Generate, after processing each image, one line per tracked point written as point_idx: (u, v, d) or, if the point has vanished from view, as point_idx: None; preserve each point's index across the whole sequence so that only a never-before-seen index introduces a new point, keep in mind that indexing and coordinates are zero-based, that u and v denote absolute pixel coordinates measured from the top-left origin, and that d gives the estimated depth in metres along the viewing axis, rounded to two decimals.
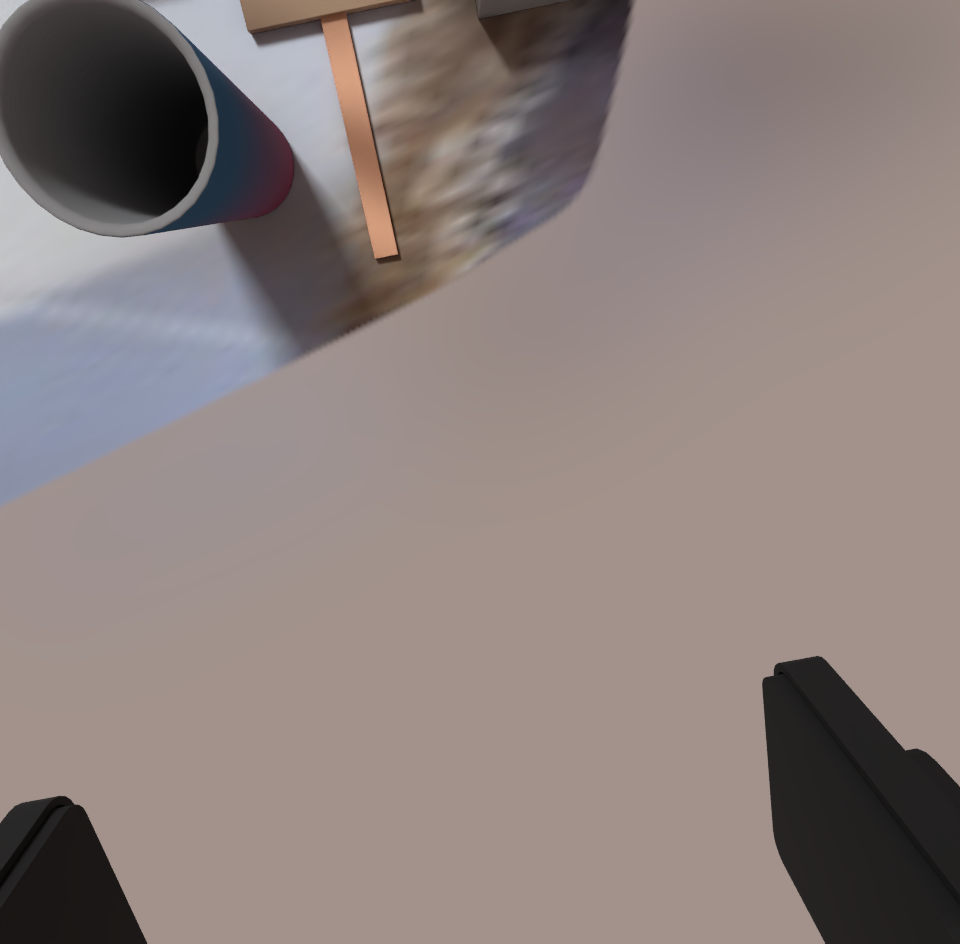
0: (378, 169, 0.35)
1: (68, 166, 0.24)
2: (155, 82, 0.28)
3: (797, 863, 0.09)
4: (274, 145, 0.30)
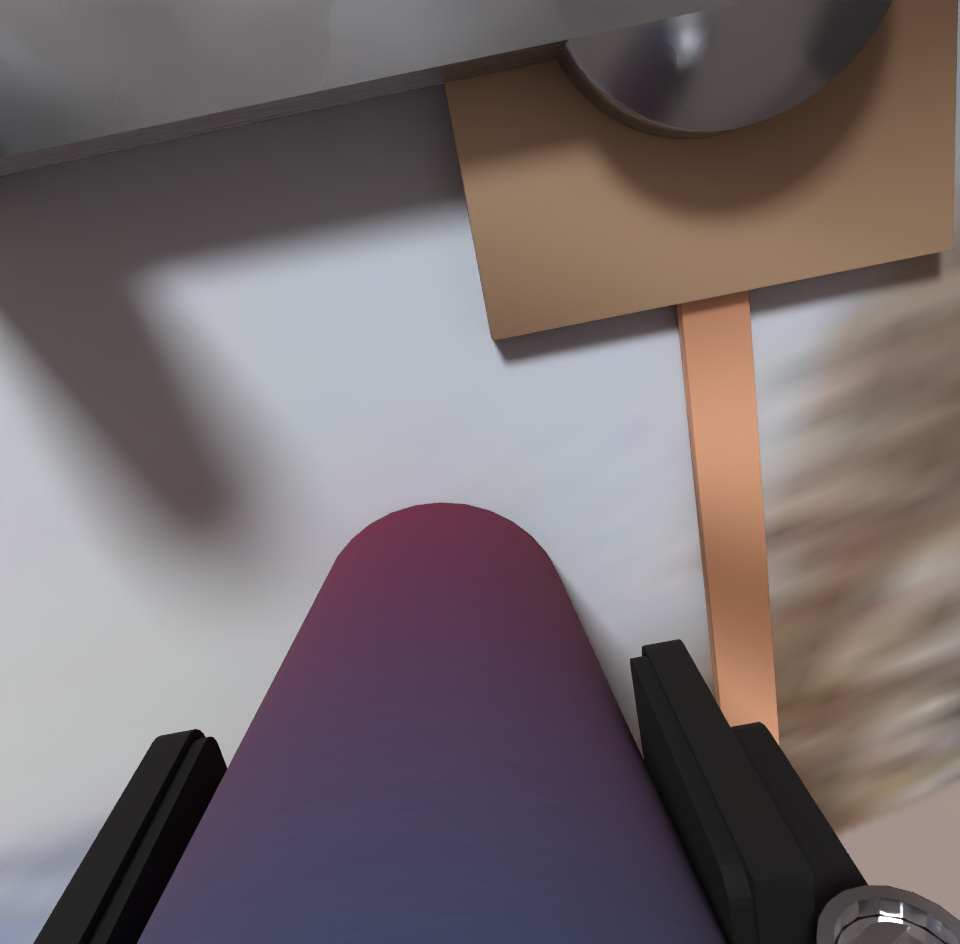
0: (768, 623, 0.15)
1: None
2: None
3: None
4: None
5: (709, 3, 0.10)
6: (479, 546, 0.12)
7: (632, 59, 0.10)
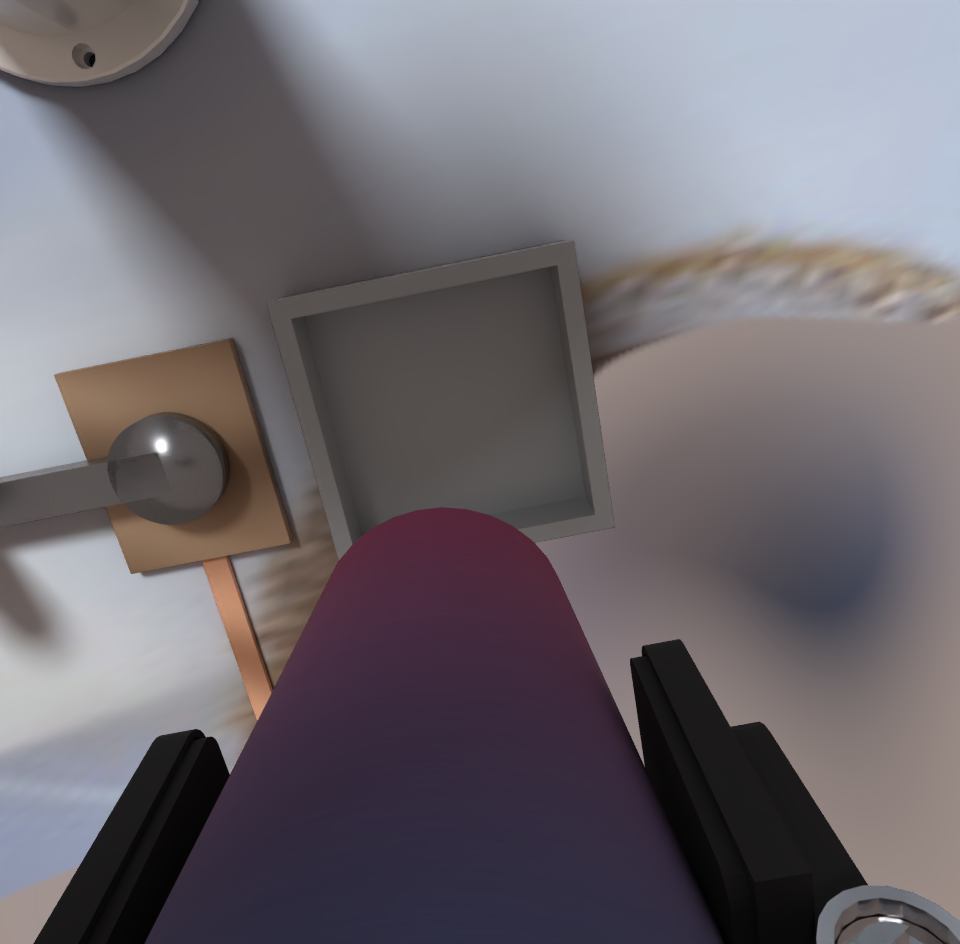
0: (263, 671, 0.37)
1: None
2: None
3: None
4: None
5: (163, 494, 0.32)
6: (480, 551, 0.12)
7: (143, 507, 0.32)
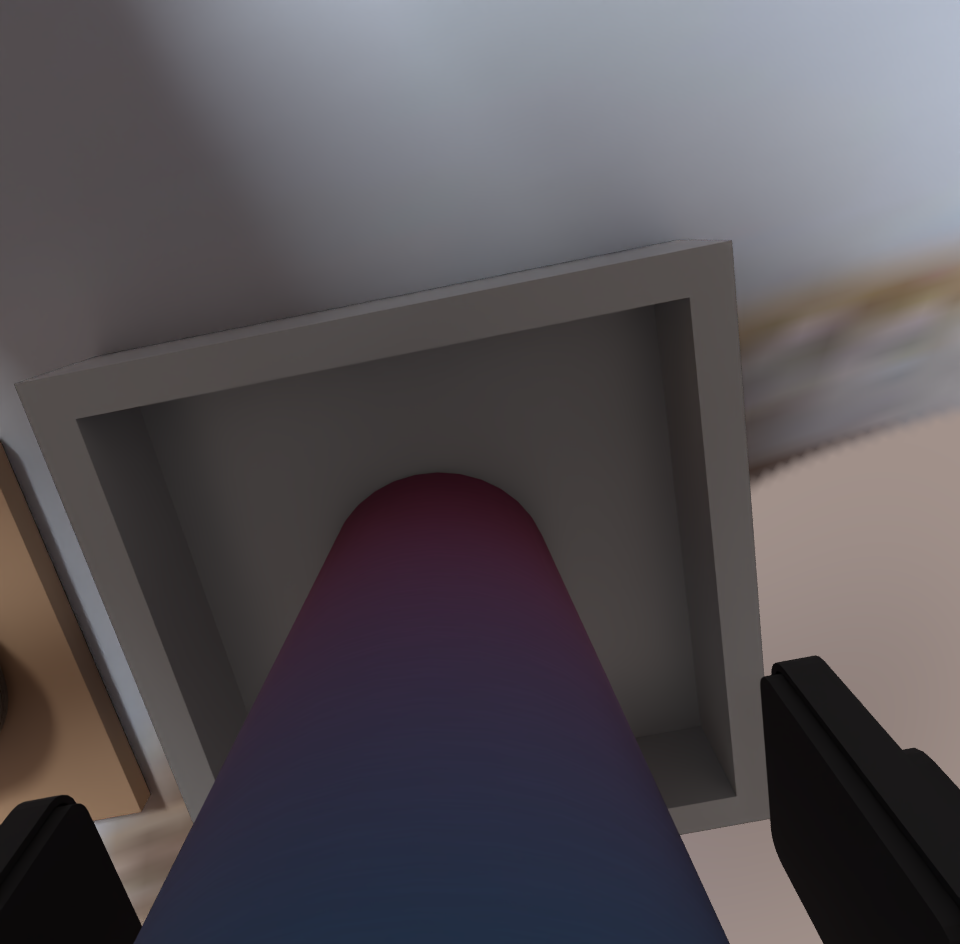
0: None
1: None
2: None
3: (795, 862, 0.09)
4: None
5: None
6: (471, 508, 0.13)
7: None
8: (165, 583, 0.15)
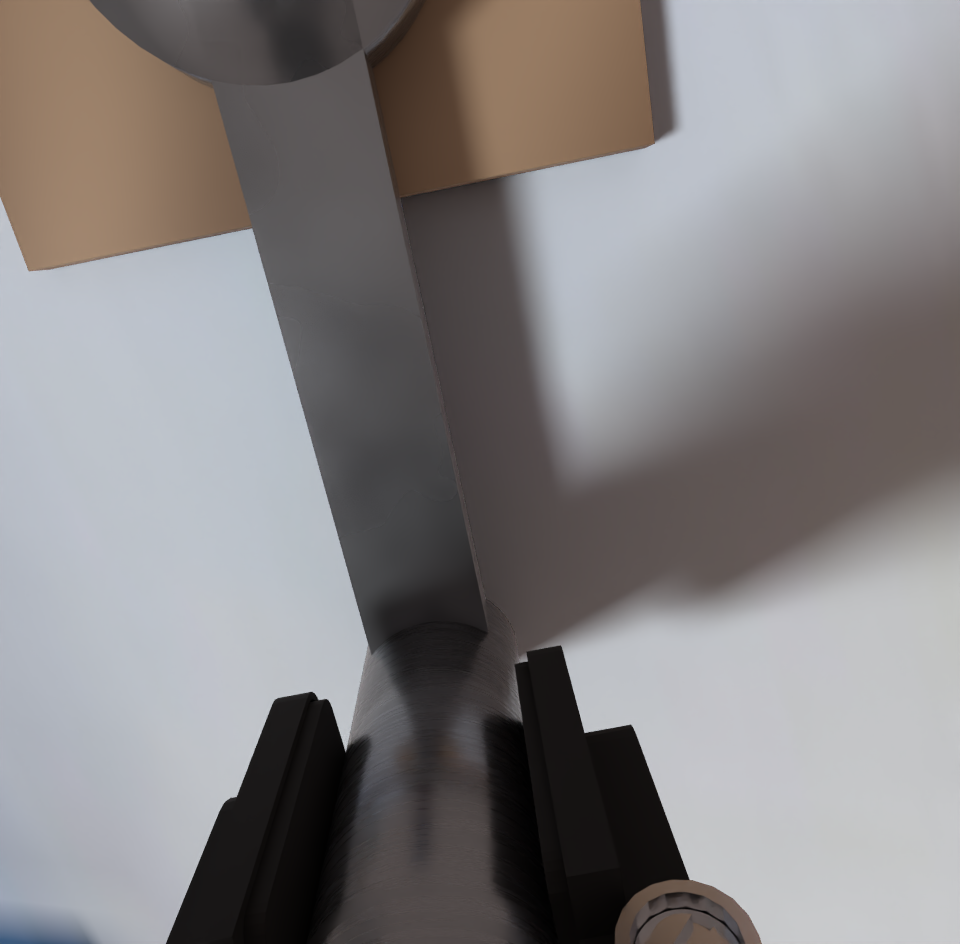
0: None
1: None
2: None
3: None
4: None
5: None
6: None
7: None
8: None
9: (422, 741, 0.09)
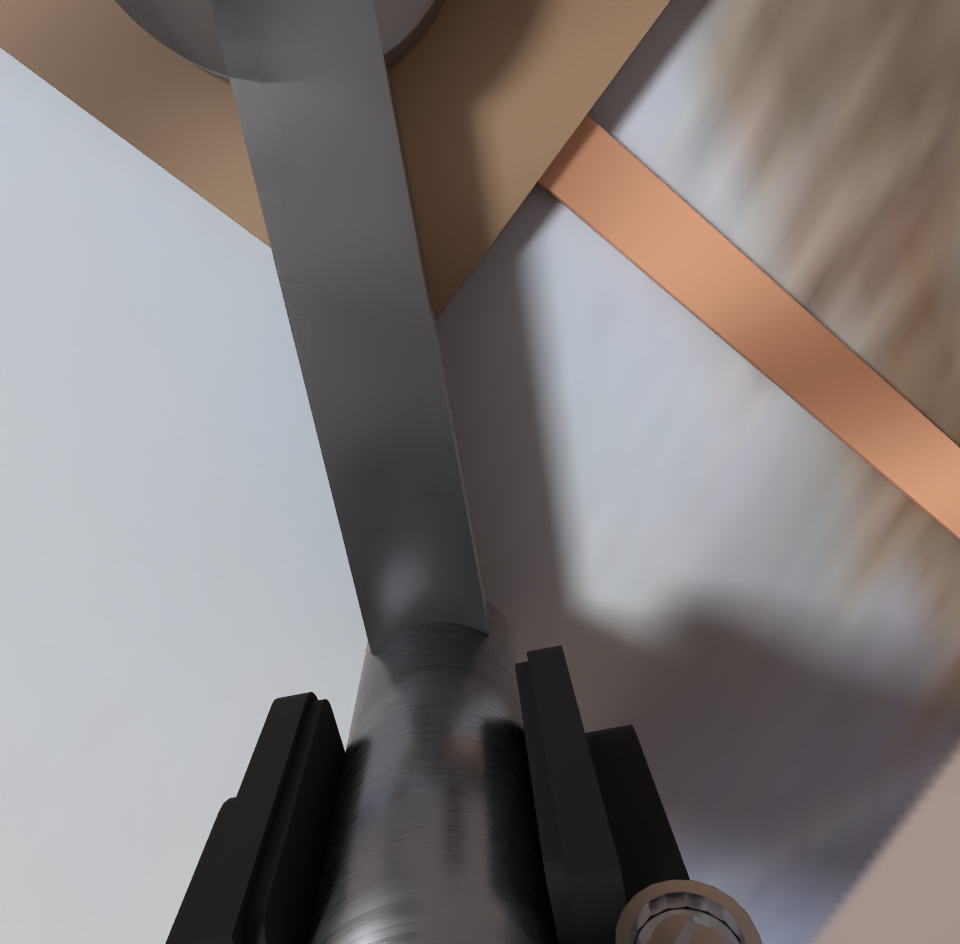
0: (877, 378, 0.13)
1: None
2: None
3: None
4: None
5: None
6: None
7: None
8: None
9: (425, 743, 0.09)
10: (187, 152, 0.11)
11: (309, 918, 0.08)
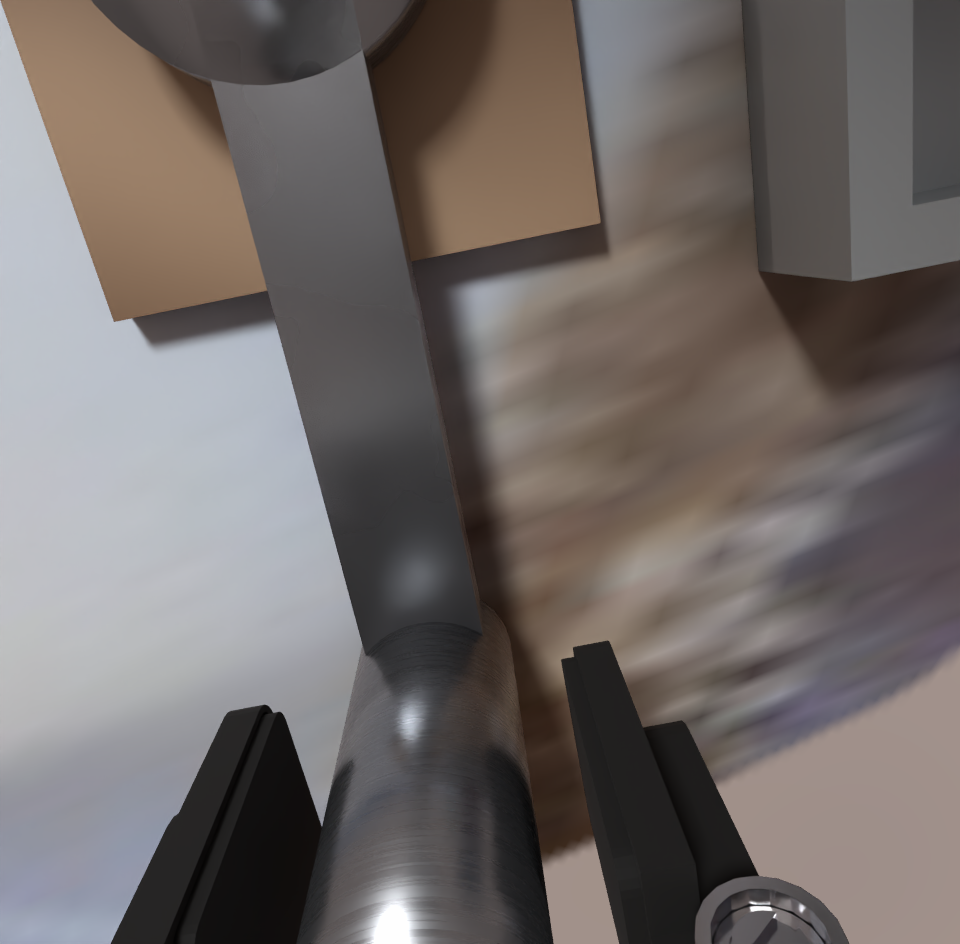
0: None
1: None
2: None
3: (592, 824, 0.10)
4: None
5: None
6: None
7: None
8: None
9: (415, 743, 0.09)
10: (32, 3, 0.10)
11: (249, 936, 0.08)
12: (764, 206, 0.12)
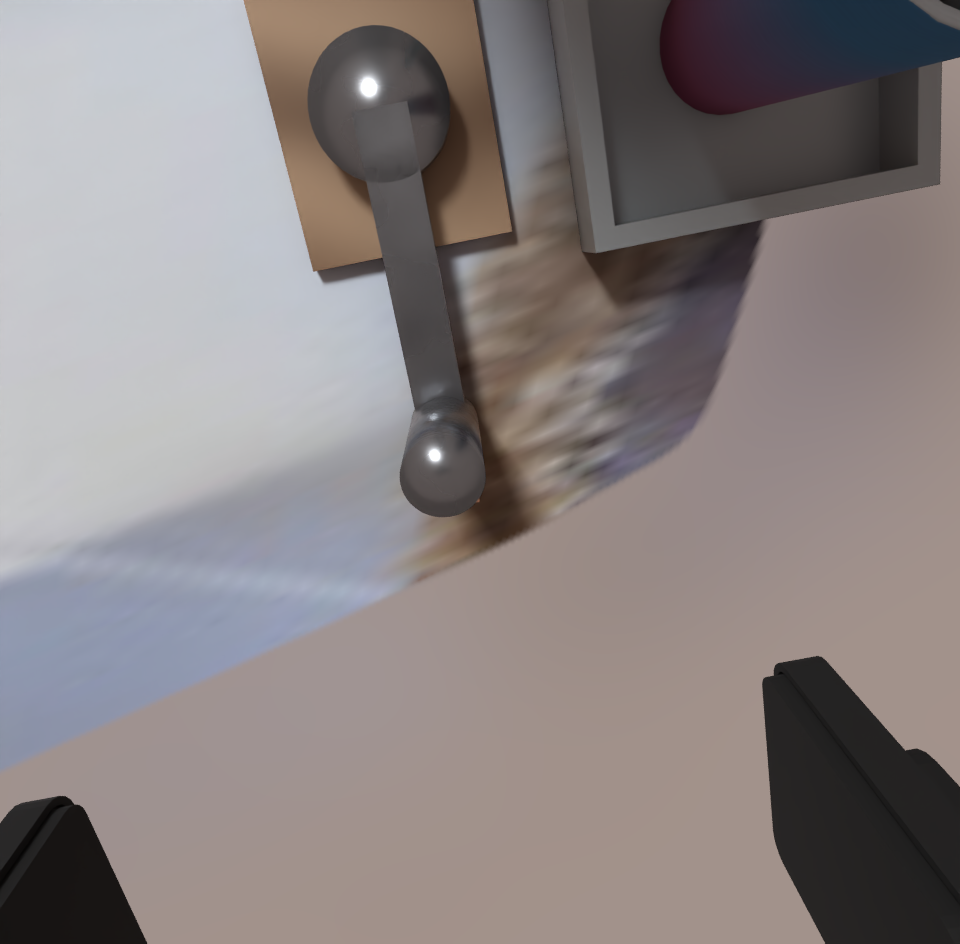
0: None
1: None
2: None
3: (797, 863, 0.09)
4: None
5: (407, 112, 0.25)
6: None
7: (426, 143, 0.25)
8: None
9: (438, 414, 0.26)
10: (293, 148, 0.27)
11: None
12: (579, 224, 0.28)
